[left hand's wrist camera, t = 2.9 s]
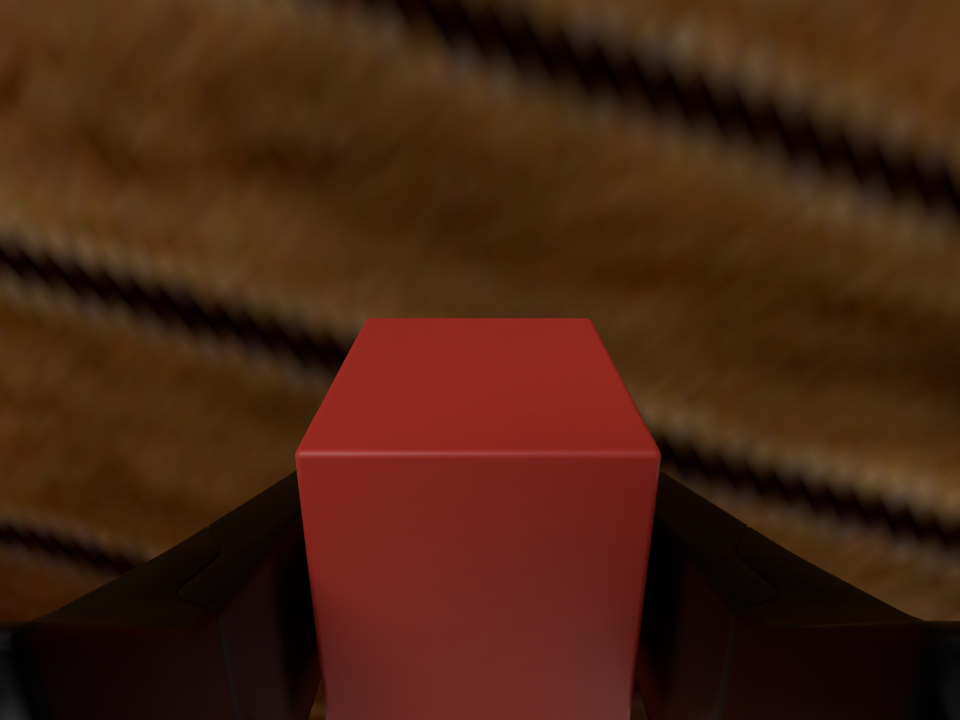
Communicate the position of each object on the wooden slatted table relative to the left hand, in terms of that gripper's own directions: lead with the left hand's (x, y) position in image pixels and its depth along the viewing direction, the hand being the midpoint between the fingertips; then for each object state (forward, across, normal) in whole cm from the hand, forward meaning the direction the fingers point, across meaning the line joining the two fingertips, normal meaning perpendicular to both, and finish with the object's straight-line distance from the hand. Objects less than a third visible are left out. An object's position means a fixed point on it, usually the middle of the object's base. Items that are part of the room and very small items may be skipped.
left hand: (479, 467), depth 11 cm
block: (+1, 0, 0) cm, 1 cm away
